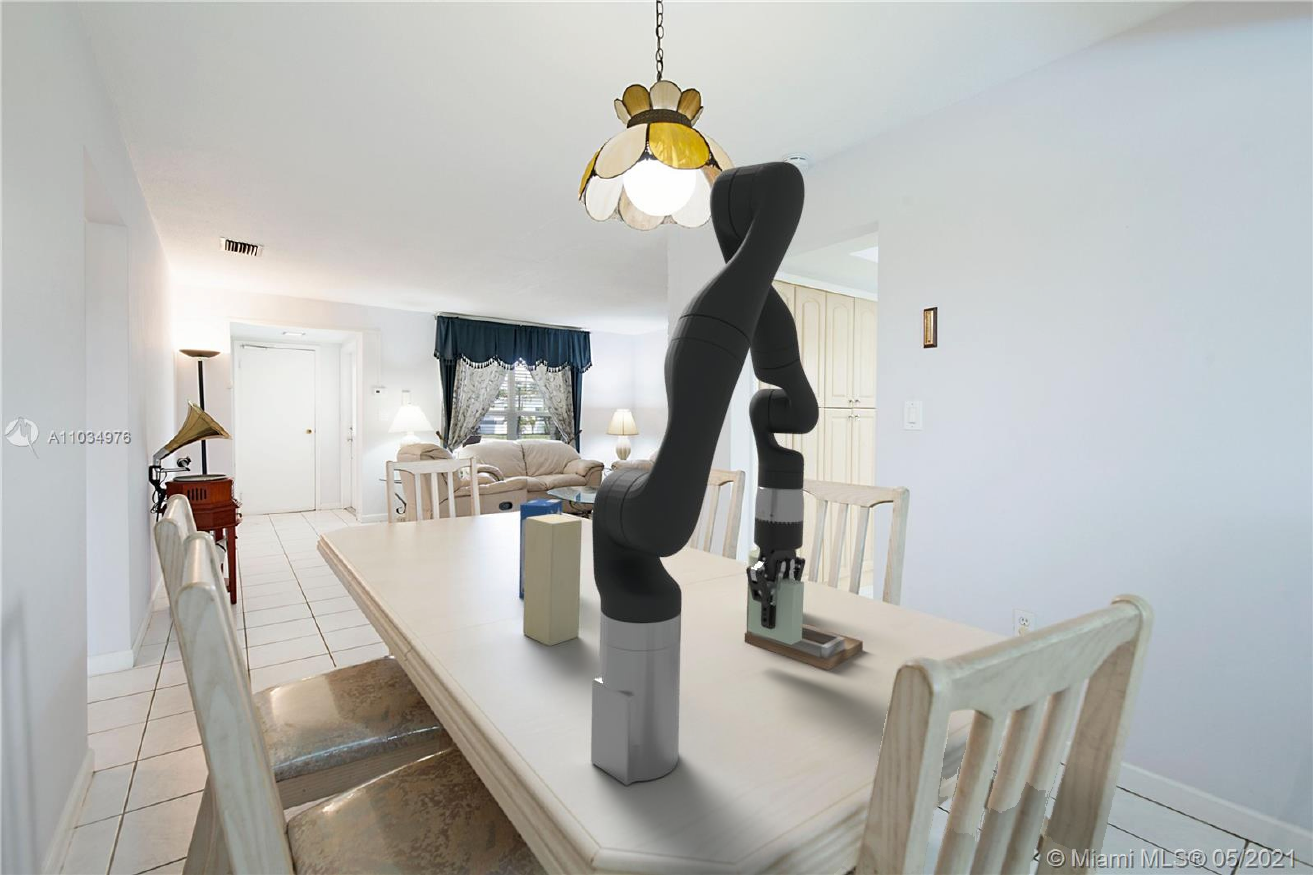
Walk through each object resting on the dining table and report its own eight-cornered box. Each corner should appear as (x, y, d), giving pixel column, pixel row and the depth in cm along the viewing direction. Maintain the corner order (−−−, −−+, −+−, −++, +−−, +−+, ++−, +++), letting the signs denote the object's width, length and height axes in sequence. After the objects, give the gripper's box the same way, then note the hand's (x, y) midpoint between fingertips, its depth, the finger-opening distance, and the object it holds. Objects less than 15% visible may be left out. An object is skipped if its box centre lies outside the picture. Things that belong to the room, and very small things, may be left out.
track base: (827, 670, 93) (829, 597, 92) (744, 641, 104) (746, 576, 104) (862, 649, 101) (864, 583, 101) (782, 625, 113) (784, 565, 112)
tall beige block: (583, 635, 105) (585, 518, 105) (549, 647, 100) (551, 523, 99) (555, 624, 111) (557, 513, 110) (522, 634, 105) (523, 517, 105)
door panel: (791, 644, 89) (793, 585, 89) (747, 630, 95) (749, 574, 95) (801, 640, 92) (804, 582, 91) (758, 626, 97) (760, 571, 97)
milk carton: (535, 584, 136) (536, 498, 136) (561, 586, 135) (562, 499, 135) (519, 598, 126) (520, 504, 126) (547, 599, 125) (548, 505, 125)
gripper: (774, 523, 85) (769, 642, 86) (823, 515, 95) (818, 621, 96) (732, 516, 90) (728, 628, 91) (782, 509, 101) (778, 610, 101)
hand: (774, 624), depth 93 cm, fingers closed on door panel, 3 cm apart
